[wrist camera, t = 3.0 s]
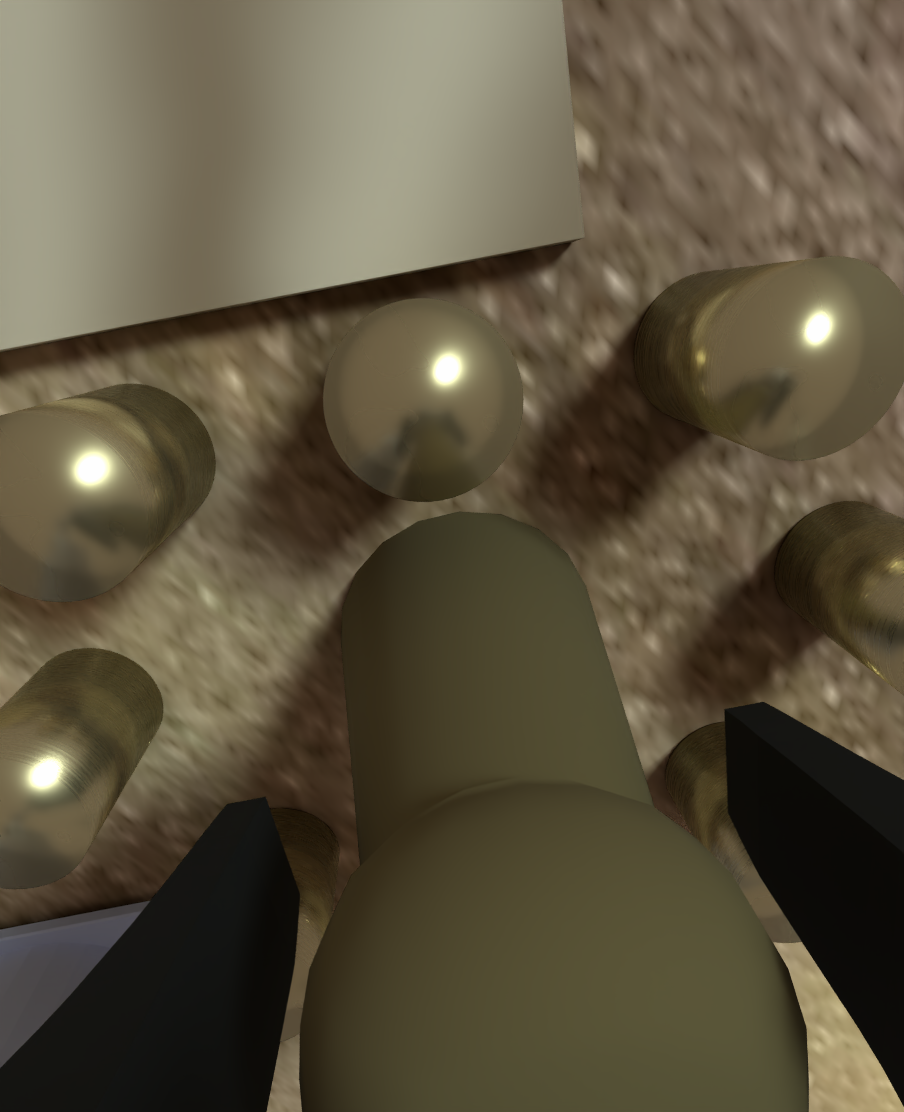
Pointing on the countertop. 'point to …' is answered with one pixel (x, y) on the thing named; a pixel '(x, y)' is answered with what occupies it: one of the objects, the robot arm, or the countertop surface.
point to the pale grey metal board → (268, 150)
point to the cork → (523, 868)
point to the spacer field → (432, 475)
